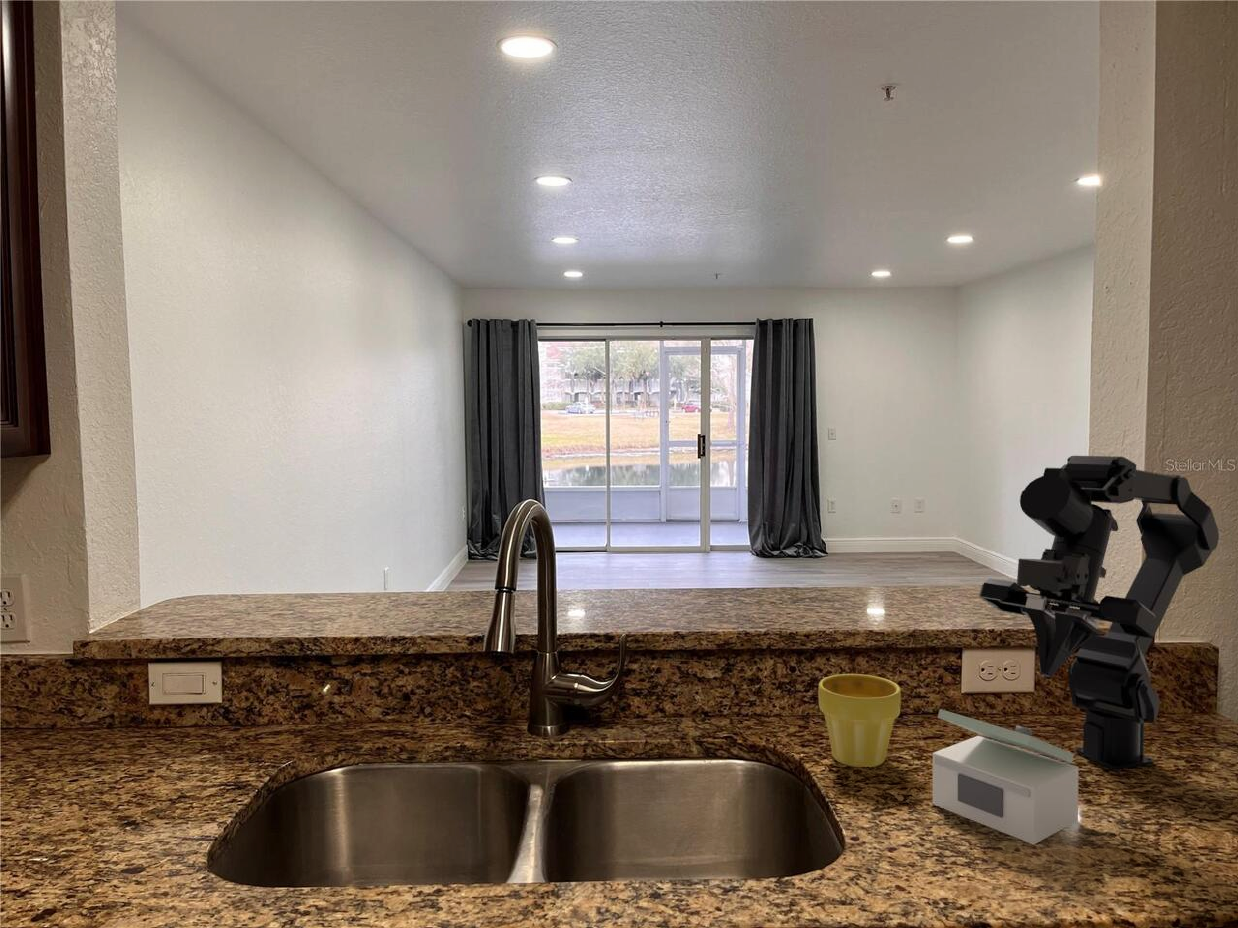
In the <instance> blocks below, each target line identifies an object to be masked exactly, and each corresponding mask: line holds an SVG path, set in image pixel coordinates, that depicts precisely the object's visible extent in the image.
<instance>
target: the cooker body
mask: <svg viewBox="0 0 1238 928" xmlns="http://www.w3.org/2000/svg"><path fill="white" fill-rule="evenodd" d="M933 804H934V805H933ZM932 805H933V806H936V807H938V806H939V807H938V808H942V809H943V808H944V810H946V811H949V812H951V813H952V814H956V815H958V816H961V817H963V818H966V819H968V820H971V821H974V822H976V823H979V824H981V825H983V826H986V827H988V828H991V829H994V830H996V831H998V832H1001V833H1003V834H1006V835H1009V836H1011V837H1013V838H1016V839H1018V840H1021V841H1023V842H1026V843H1028V844H1029V845H1030V844H1031V845H1033V846H1034V845H1036V844H1037V843H1039V842H1042V841H1043V840H1046V839H1047V838H1049V837H1051V836H1052V835H1055V834H1056V833H1058V832H1060V831H1062V830H1063V829H1066V828H1067V827H1069V826H1072V825H1073V824H1074V823H1077V822H1078V821H1079V766H1076V765H1073V764H1071V763H1068V762H1065V761H1064V762H1063V761H1062V760H1058V759H1055V758H1052V757H1051V758H1050V757H1049V756H1048V757H1047V756H1046V755H1045V756H1044V755H1042V754H1039V753H1036V752H1033V751H1030V750H1026V749H1023V748H1020V747H1019V748H1018V747H1017V746H1014V745H1013V746H1012V745H1010V744H1007V743H1004V742H1001V741H998V740H994V739H991V738H988V737H985V736H982V735H976V736H974V737H970V738H968V739H966V740H963V741H960V742H957V743H955V744H953V745H950V746H948V747H945V748H943V749H942V748H941V749H940V750H936V751H934V752H932Z"/></svg>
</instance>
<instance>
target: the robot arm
mask: <svg viewBox="0 0 1238 928" xmlns="http://www.w3.org/2000/svg"><path fill="white" fill-rule="evenodd" d="M1066 461H1067V463H1065V464H1064V465H1062V466H1061V467H1045V468H1044V472H1043V475H1042V476H1039V477H1038V478H1035V479H1034V480H1032V481H1031V482H1030V483H1028V485H1026V486H1025V488H1024V490H1022V491H1021V493H1020V496H1019V497H1020V499H1019V504H1020V509H1021V511H1022V512H1023V513H1024V515H1026V517H1028V518H1029V519H1031V520H1032V521H1033V522H1034V523H1035V524H1036V525H1038V526H1040V527H1041V528H1042V529H1043V530H1045V531H1046V532H1047V533H1048V534H1050V535H1051V536H1053V537H1054V538H1053V542H1052V545H1051V548H1044V551H1042V555H1041V558H1038V559H1037V558H1018V562H1017V574H1016V575H1017V578H1016V582H1015V581H1009V580H1004V579H1003V580H1002V579H998V578H988V579H987V580H986V581H984V582H983V583H982V585H981V588H980V591H979V593H978V594H979V595H978V598H980V599H981V600H982V601H984V602H985V603H987V604H989V605H990V606H992V607H994V608H995V609H996V610H998V611H1000V612H1004V613H1008V614H1013V615H1019V616H1025V617H1026V616H1027V617H1028V618H1030V621H1031V623H1032V626H1033V629H1034V632H1035V637H1036V642H1037V651H1038V652H1037V653H1038V660H1039V670H1040V673H1041V675H1043V676H1044V677H1049V678H1052V677H1053V676H1054V675H1055V673H1056V672H1057V671H1058V670H1059V669H1060V668H1061V667H1062V666H1063V665H1064V664H1065V662H1066V661H1068V659H1069V658H1070V657H1071V656H1072V655H1073V653H1074V652H1076V651H1077V650H1078V649H1079V650H1078V651H1077V653H1075V654H1074V657H1073V658H1074V661H1072V662H1071V664H1070V665H1069V668H1068V673H1067V681H1068V686H1069V691H1070V697H1071V702H1072V706H1073V707H1075V708H1081V709H1085V714H1084V715H1085V718H1084V719H1085V722H1083V726H1082V728H1083V729H1082V730H1083V733H1082V734H1083V735H1082V736H1083V738H1082V741H1083V742H1082V747H1081V746H1080V747H1076V748H1075V752H1076V753H1077V754H1079V755H1081V756H1083V757H1085V758H1087V759H1089V760H1091V761H1094V762H1095V763H1098V764H1100V765H1103V766H1104V767H1106V768H1108V769H1109V768H1110V769H1111V770H1114V771H1115V770H1122V769H1129V768H1131V769H1132V768H1136V767H1145V766H1149V765H1154V764H1155V760H1154V759H1152V758H1151V757H1148V756H1145V754H1144V748H1145V747H1144V746H1145V745H1144V742H1145V739H1144V738H1145V737H1144V736H1145V735H1144V734H1145V733H1144V732H1145V729H1144V728H1145V727H1144V726H1145V723H1155V722H1157V717H1158V714H1159V711H1160V705H1161V704H1160V703H1161V701H1160V698H1159V696H1158V693H1157V692H1156V690H1155V688H1154V687H1153V685H1152V684H1151V682H1150V681H1151V675H1150V671H1149V668H1148V665H1147V661H1146V658H1145V657H1146V653H1148V650H1149V647H1150V646H1151V644H1152V641H1153V639H1155V637H1156V633H1157V631H1158V629H1159V628H1160V627H1159V626H1160V624H1161V623H1162V621H1163V619H1164V616H1165V614H1166V612H1167V610H1168V608H1169V606H1170V604H1171V602H1172V599H1173V598H1174V596H1175V593H1176V591H1177V589H1178V587H1179V585H1180V584H1181V582H1182V579H1183V578H1184V576H1185V575H1187V574H1190V573H1191V572H1193V571H1195V570H1197V569H1200V568H1202V567H1204V565H1206V562H1207V561H1208V559H1209V558H1210V556H1211V555H1212V553H1213V551H1215V550H1216V548H1217V546H1218V544H1219V538H1220V535H1219V534H1220V533H1219V529H1218V528H1219V527H1218V526H1217V523H1216V520H1215V516H1214V513H1213V510H1212V509H1211V507H1210V506H1209V505H1208V504H1207V503H1205V501H1203V500H1202V499H1201V498H1199V497H1198V495H1196V494H1195V493H1194V492H1193V491H1192V489H1191V486H1190V484H1189V481H1188V478H1186V477H1184V476H1181V475H1178V474H1163V473H1158V472H1152V471H1146V470H1141V469H1137V464H1136V463H1135V462H1134V461H1132V460H1130V459H1128V458H1126V457H1124V456H1118V455H1117V456H1116V455H1115V456H1113V455H1112V456H1111V455H1109V456H1107V455H1102V456H1101V455H1096V456H1095V455H1071V456H1068V458H1067V459H1066ZM1134 500H1137V501H1141V503H1142V508H1141V510H1140V511H1139V514H1138V515H1137V517H1136V520H1135V521H1136V525H1137V527H1138V529H1139V533H1140V535H1141V537H1140V541H1141V543H1142V547H1143V550H1144V553H1145V558H1144V560H1143V561H1142V564H1141V566H1140V568H1139V570H1138V572H1137V573H1136V575H1135V577H1134V580H1133V581H1132V583H1131V585H1130V587H1129V589H1128V590H1127V593H1126V595H1125V597H1118V596H1117V597H1116V596H1110V595H1105V596H1104V597H1103V598H1102V599H1101V600H1100V601H1097V600H1096V599H1095V596H1096V592H1097V588H1098V584H1099V581H1100V580H1099V579H1105V578H1106V575H1107V571H1108V570H1107V569H1106V568H1104V567H1103V565H1104V564H1103V563H1104V559H1105V555H1106V552H1107V548H1108V545H1109V540H1110V536H1111V532H1117V531H1118V530H1119V525H1118V522H1117V520H1116V519H1115V517H1113V513H1112V510H1111V509H1109V508H1108V509H1107V508H1106V509H1105V508H1102V507H1101V506H1099V505H1097V504H1094V503H1102V504H1103V503H1104V504H1117V505H1119V504H1124V503H1129V502H1133V501H1134ZM1151 504H1158V505H1160V504H1161V505H1174V506H1175V505H1176V506H1177V509H1178V510H1179V512H1181V513H1182V514H1175V513H1163V512H1162V513H1161V512H1155V513H1153V512H1152V508H1151V506H1150V505H1151ZM1027 586H1029V587H1030V588H1031V589H1032V590H1034V591H1038V592H1039V593H1036V592H1030V591H1029V590H1027V589H1026V588H1024V587H1027ZM1101 621H1103V622H1108V623H1109V622H1110V623H1111V624H1110V627H1109V628H1108V630H1107V632H1106V633H1105V634H1104V635H1101V630H1099V626H1100V622H1101Z"/></svg>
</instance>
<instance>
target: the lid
mask: <svg viewBox="0 0 1238 928" xmlns="http://www.w3.org/2000/svg"><path fill="white" fill-rule="evenodd" d="M937 718H938V719H940V720H943V721H945V722H948V723H951V724H953V725H955V726H959V727H960V728H963V729H965V730H968V731H970V732H973V733H976V734H978V735H979V736H982V737H985V738H988V739H991V740H995V741H998V742H1001V743H1004V744H1007V745H1011V746H1012V745H1013V746H1014V747H1017V748H1018V747H1019V748H1020V749H1024V750H1027V751H1030V752H1033V753H1036V754H1040V755H1043V756H1044V755H1045V756H1046V757H1047V756H1048V757H1049V758H1050V757H1051V758H1052V759H1056V760H1059V761H1062V762H1063V761H1064V762H1065V763H1069V764H1073V760H1074V757H1075V754H1074V753H1072V752H1070V751H1067V750H1065V749H1063V748H1059V747H1058V746H1055V745H1053V744H1052V743H1051V744H1050V743H1048V742H1045V741H1044V740H1041V739H1039V738H1036V737H1035V736H1032V734H1033V733H1032V732H1033V729H1030V728H1027V727H1025V726H1021V725H1017V724H1016V726H1015V730H1012V729H1009V728H1005V727H1002V726H999V725H997V724H992V723H989V722H984V721H981V720H978V719H976V718H972V717H968V716H965V715H962V714H958V713H955V712H951V711H948V710H944V709H942V708H940V709H939V711H938V714H937Z"/></svg>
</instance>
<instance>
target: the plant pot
mask: <svg viewBox="0 0 1238 928" xmlns="http://www.w3.org/2000/svg"><path fill="white" fill-rule="evenodd" d="M901 691H902V690H901V687H900V686H899V685H898V684H897V683H896V682H894V681H892V680H890V679H887V678H884V677H880V676H875V675H870V674H860V673H841V674H833V675H830V676H826V677H824V678H822V679H820V681H819V683H818V707H819V710H820V712H822V714H824V718H825V725H826V729H827V733H828V738H829V744H830V747H831V748H830V749H831V754H832V757H833V759H834V760H836V761H837V762H838V763H840V764H842V765H846V766H849V767H855V768H861V767H869V768H875V767H878V766H881V765H882V764H883V763H884V762H885V761H886V756H887V753H888V747H889V742H890V739H891V735H892V731H893V727H894V723H895V719H897V718H898V717H899V716H900V714H901V706H902V705H901V703H902V700H901V699H902V692H901Z"/></svg>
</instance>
